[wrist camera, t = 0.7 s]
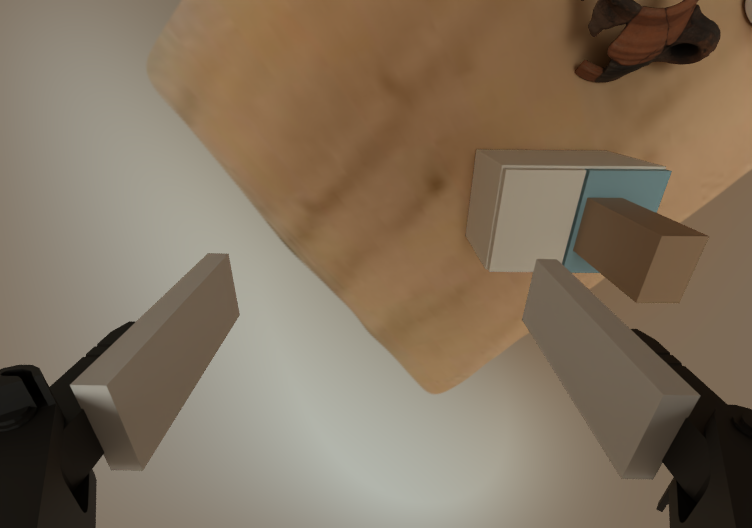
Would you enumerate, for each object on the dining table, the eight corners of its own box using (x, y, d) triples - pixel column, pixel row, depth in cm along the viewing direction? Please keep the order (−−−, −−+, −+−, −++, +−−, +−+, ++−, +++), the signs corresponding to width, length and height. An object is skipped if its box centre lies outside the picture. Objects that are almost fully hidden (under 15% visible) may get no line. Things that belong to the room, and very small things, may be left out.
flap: (558, 268, 35) (620, 329, 26) (585, 168, 30) (669, 200, 22) (628, 269, 35) (714, 330, 26) (664, 169, 30) (781, 201, 22)
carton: (465, 236, 43) (487, 274, 34) (476, 149, 38) (505, 167, 30) (581, 237, 43) (634, 276, 34) (605, 150, 38) (674, 168, 29)
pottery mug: (541, 73, 36) (581, 9, 28) (575, -10, 36) (625, -99, 28) (661, 114, 34) (740, 58, 26) (695, 26, 35) (784, -55, 27)
